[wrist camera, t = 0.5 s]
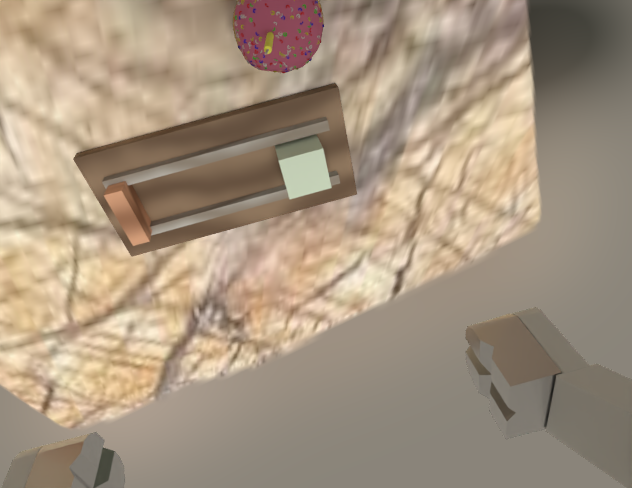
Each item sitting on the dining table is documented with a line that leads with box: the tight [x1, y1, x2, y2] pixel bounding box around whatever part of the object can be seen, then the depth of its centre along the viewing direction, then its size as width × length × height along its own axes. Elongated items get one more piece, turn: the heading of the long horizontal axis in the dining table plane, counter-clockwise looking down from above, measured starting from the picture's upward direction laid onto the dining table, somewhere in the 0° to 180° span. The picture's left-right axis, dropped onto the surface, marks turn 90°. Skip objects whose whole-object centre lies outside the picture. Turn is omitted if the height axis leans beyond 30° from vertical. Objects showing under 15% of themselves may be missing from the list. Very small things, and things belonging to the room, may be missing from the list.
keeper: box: [275, 134, 332, 199], centre depth 51 cm, size 5×5×4 cm
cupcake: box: [233, 0, 324, 73], centre depth 40 cm, size 9×8×12 cm
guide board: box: [74, 83, 357, 256], centre depth 51 cm, size 14×30×5 cm, turn 102°
